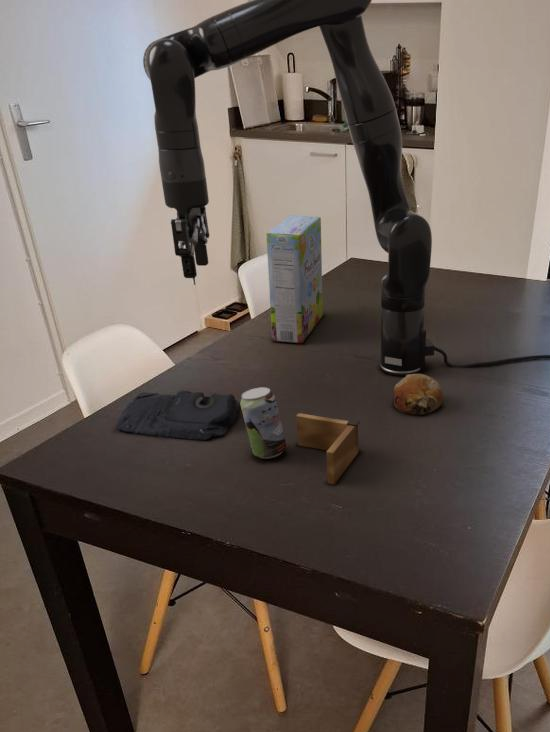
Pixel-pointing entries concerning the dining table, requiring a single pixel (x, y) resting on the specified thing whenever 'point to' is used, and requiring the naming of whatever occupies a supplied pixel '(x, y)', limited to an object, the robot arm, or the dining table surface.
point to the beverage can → (263, 422)
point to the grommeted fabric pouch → (179, 415)
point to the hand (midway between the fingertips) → (196, 271)
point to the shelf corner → (330, 440)
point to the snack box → (295, 277)
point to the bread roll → (417, 394)
